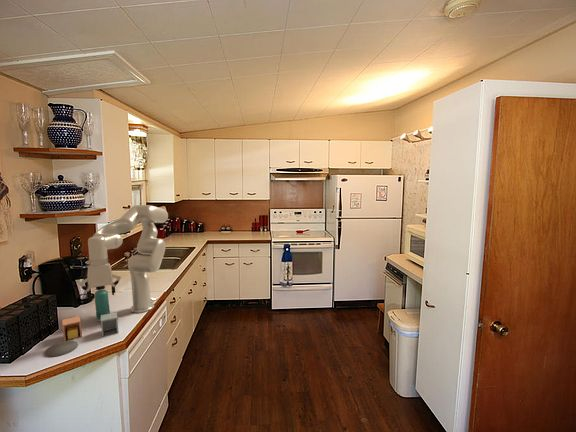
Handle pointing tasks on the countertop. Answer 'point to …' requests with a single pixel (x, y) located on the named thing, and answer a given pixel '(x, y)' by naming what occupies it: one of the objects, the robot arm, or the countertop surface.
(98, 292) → the beverage bottle
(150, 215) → the robot arm
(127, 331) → the countertop surface
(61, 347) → the charcoal mat
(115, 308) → the countertop surface
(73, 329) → the mustard cube
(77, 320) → the rust cover
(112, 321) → the slate cover
